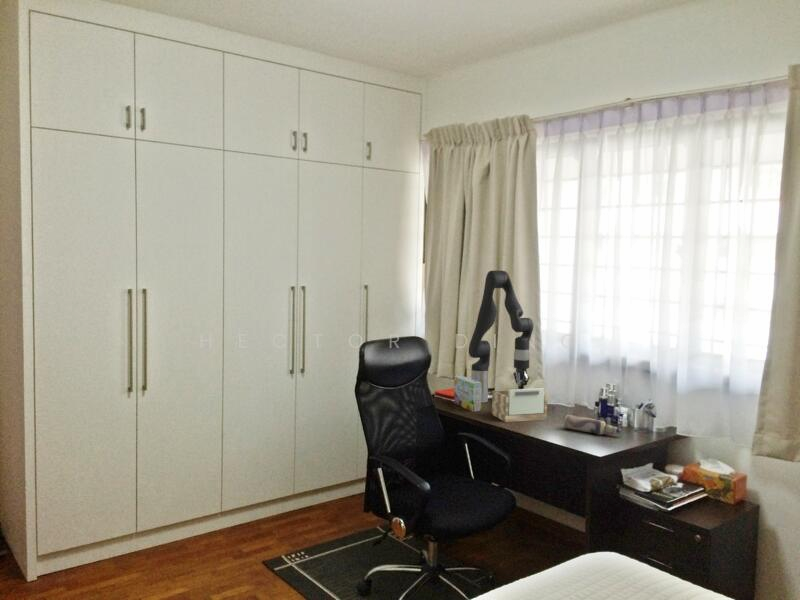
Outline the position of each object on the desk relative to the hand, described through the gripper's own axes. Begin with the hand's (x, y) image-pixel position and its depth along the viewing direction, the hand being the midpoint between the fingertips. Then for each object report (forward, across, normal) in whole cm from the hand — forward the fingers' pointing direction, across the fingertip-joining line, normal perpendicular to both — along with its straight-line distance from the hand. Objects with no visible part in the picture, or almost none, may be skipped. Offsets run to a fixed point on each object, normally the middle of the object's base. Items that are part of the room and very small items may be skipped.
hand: (520, 393), depth 331 cm
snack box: (+12, -27, -17) cm, 34 cm away
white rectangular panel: (+9, +7, 0) cm, 11 cm away
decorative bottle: (+13, +34, +18) cm, 40 cm away
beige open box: (+12, -1, 0) cm, 12 cm away
